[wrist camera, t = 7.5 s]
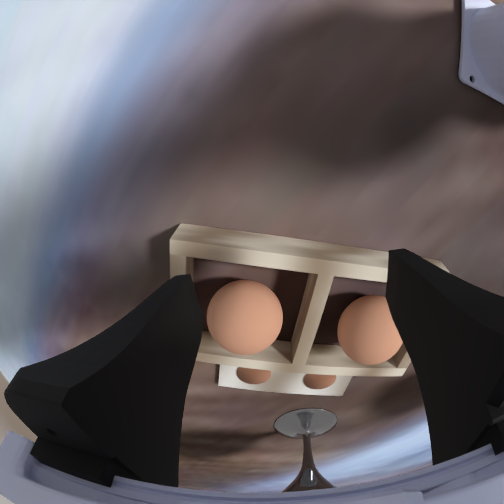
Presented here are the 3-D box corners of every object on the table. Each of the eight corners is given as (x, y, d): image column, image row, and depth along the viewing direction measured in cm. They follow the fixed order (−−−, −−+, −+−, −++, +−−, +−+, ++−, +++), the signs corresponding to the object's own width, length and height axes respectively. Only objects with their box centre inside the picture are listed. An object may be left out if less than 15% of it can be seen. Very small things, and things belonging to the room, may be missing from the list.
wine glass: (331, 439, 32) (340, 546, 19) (267, 439, 32) (262, 550, 19) (349, 405, 28) (367, 534, 15) (274, 405, 28) (270, 543, 15)
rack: (439, 260, 20) (454, 277, 18) (372, 392, 27) (377, 411, 25) (180, 223, 20) (169, 239, 18) (182, 376, 27) (176, 396, 25)
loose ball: (273, 259, 21) (273, 303, 16) (287, 315, 23) (291, 364, 19) (203, 273, 22) (188, 318, 17) (224, 326, 24) (216, 374, 19)
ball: (402, 284, 21) (427, 327, 17) (380, 334, 24) (397, 378, 19) (342, 278, 21) (358, 323, 17) (325, 330, 24) (334, 378, 19)
